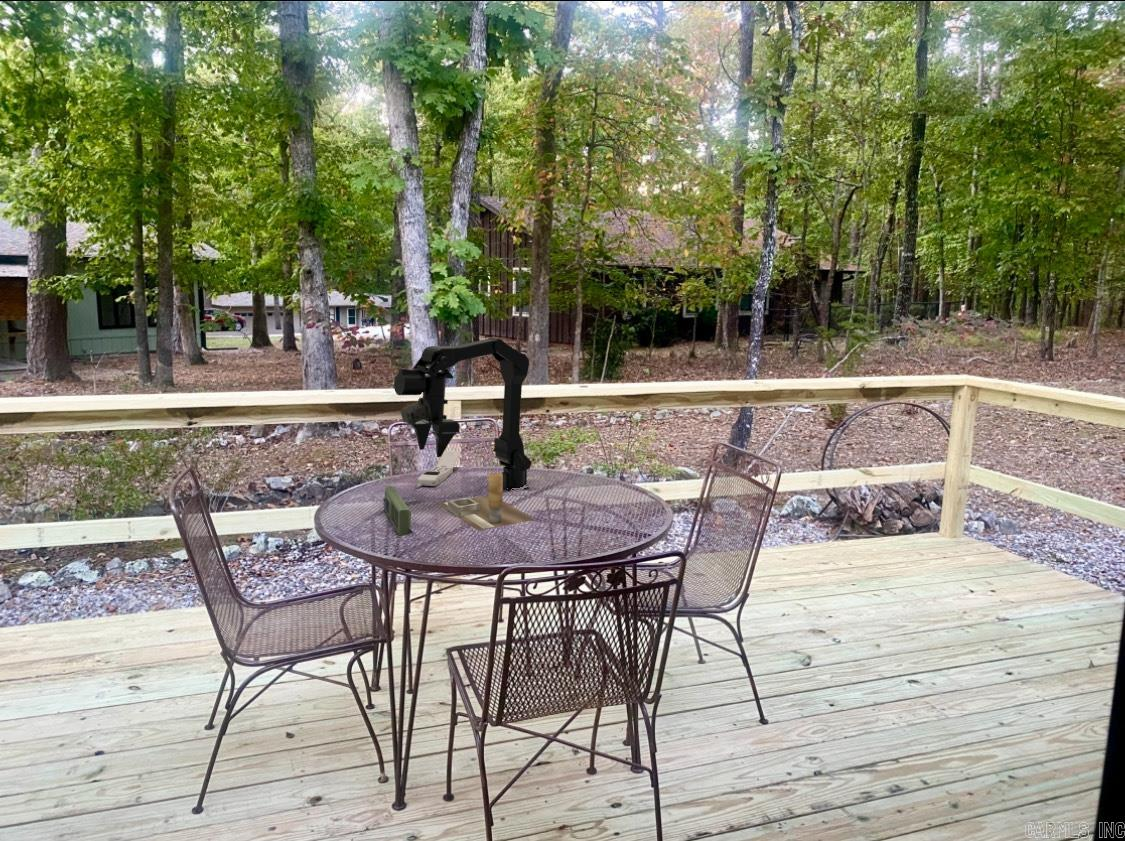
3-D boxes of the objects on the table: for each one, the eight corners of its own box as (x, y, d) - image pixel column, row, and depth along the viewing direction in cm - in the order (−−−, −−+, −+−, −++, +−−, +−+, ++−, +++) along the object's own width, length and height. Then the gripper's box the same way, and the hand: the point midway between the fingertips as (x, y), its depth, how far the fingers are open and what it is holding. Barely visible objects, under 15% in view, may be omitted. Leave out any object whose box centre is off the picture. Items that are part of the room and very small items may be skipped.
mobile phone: (461, 450, 232) (432, 470, 208) (461, 468, 234) (433, 490, 210) (443, 449, 234) (413, 469, 210) (444, 467, 235) (413, 489, 211)
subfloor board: (491, 499, 202) (491, 486, 201) (535, 524, 184) (535, 509, 183) (438, 509, 193) (438, 494, 193) (478, 536, 175) (478, 520, 174)
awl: (498, 518, 183) (498, 472, 181) (504, 522, 180) (505, 475, 178) (485, 520, 181) (486, 474, 179) (492, 524, 179) (492, 477, 176)
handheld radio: (397, 536, 174) (379, 504, 196) (411, 535, 175) (391, 504, 198) (397, 510, 173) (379, 480, 195) (411, 509, 174) (391, 480, 196)
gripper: (389, 390, 193) (386, 447, 195) (424, 401, 179) (420, 463, 181) (426, 389, 200) (423, 445, 203) (462, 400, 186) (458, 460, 189)
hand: (430, 453), depth 194 cm, fingers open, 9 cm apart
